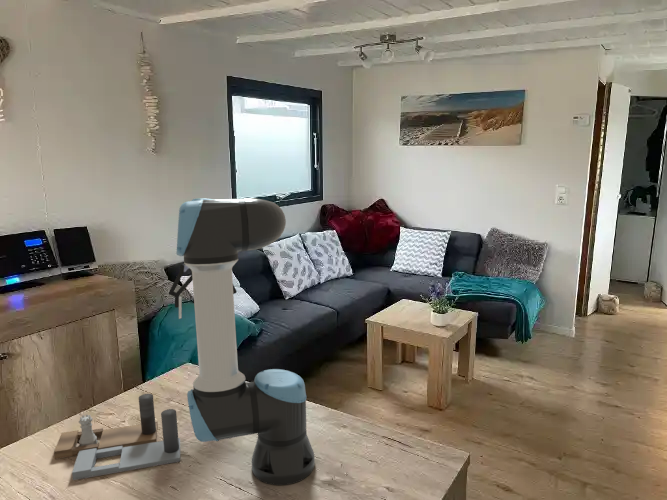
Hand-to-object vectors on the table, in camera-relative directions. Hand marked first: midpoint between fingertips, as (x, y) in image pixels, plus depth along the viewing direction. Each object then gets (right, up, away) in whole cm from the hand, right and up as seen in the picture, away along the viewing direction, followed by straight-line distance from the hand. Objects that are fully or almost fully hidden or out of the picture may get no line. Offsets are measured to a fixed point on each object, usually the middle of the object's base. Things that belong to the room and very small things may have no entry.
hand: (203, 317), depth 157 cm
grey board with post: (-10, -31, -31) cm, 45 cm away
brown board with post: (-19, -30, -23) cm, 42 cm away
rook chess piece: (-24, -30, -24) cm, 45 cm away
